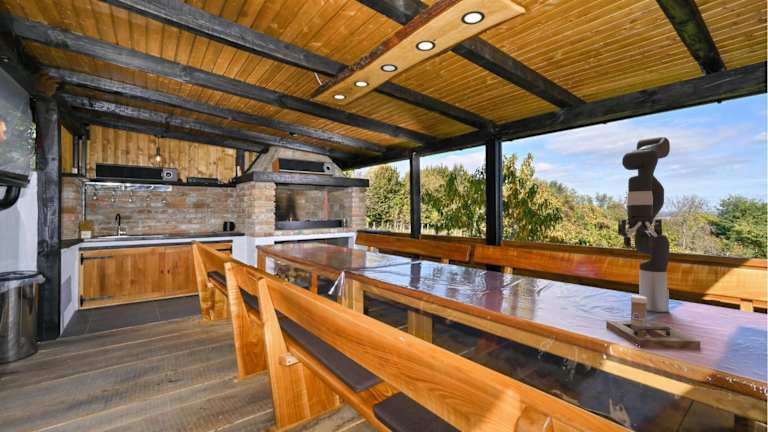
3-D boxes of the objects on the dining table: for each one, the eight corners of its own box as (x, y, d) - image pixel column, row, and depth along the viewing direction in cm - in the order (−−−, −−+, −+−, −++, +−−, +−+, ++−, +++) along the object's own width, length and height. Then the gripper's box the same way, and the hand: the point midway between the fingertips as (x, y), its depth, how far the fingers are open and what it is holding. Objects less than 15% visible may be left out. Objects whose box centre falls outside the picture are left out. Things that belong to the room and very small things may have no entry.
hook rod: (668, 334, 109) (668, 326, 109) (671, 335, 107) (671, 327, 107) (632, 333, 110) (632, 325, 110) (635, 334, 108) (635, 326, 108)
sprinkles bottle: (630, 334, 115) (630, 296, 115) (631, 330, 118) (631, 294, 118) (646, 337, 112) (646, 298, 112) (647, 333, 115) (647, 296, 115)
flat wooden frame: (657, 328, 121) (657, 321, 121) (700, 348, 103) (700, 341, 103) (606, 327, 122) (606, 320, 122) (640, 347, 104) (640, 339, 104)
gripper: (652, 203, 125) (652, 245, 126) (613, 204, 127) (613, 245, 127) (667, 203, 118) (667, 248, 118) (626, 203, 119) (626, 248, 119)
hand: (639, 246), depth 122 cm, fingers open, 8 cm apart
